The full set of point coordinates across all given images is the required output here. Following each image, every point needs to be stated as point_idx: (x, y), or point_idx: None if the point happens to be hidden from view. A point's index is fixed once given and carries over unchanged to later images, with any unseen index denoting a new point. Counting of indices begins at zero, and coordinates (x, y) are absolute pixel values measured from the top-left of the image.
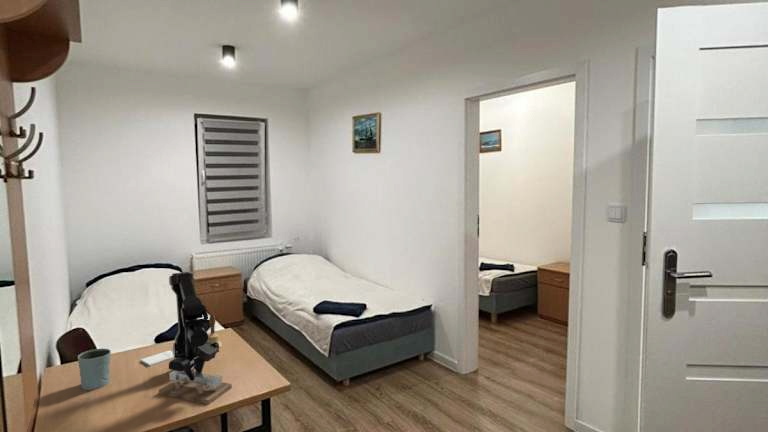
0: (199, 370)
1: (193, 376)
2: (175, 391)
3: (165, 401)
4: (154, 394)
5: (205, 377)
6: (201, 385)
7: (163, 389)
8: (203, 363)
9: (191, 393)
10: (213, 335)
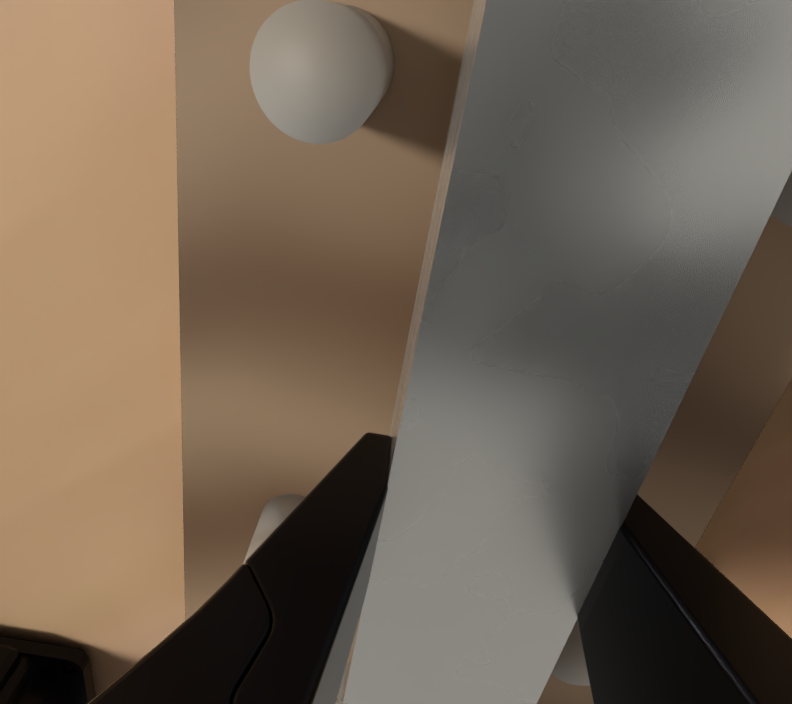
0: (367, 555)
1: (653, 539)
2: None
3: (778, 548)
4: None
5: (696, 164)
6: (413, 297)
7: (584, 689)
8: (205, 693)
9: (727, 314)
10: None
